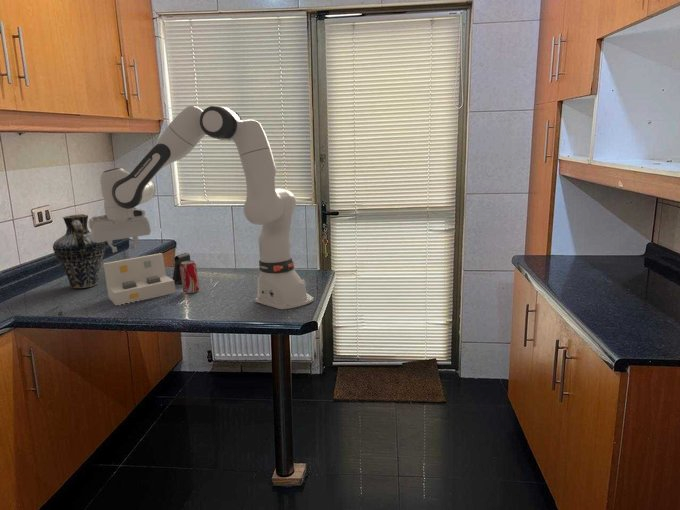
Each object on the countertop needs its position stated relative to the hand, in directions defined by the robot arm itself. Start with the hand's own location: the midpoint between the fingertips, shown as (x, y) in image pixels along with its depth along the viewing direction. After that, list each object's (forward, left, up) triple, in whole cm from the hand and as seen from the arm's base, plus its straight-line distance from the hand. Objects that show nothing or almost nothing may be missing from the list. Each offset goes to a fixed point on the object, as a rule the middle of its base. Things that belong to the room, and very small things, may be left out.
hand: (124, 250), depth 190 cm
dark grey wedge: (+8, -23, -19) cm, 31 cm away
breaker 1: (0, 0, -17) cm, 17 cm away
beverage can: (-7, -20, -19) cm, 29 cm away
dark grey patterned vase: (+35, +10, -19) cm, 41 cm away
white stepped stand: (+2, -4, -19) cm, 20 cm away
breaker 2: (+1, -9, -17) cm, 19 cm away
